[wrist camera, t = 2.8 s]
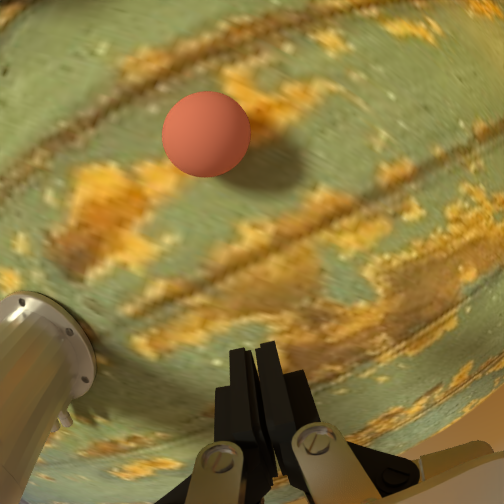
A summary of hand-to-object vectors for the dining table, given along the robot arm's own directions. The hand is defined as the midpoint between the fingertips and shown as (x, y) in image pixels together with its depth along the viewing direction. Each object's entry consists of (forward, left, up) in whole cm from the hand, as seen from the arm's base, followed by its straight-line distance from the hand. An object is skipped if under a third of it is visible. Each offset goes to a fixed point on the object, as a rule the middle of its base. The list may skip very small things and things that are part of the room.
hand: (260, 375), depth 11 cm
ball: (+9, +2, -11) cm, 15 cm away
